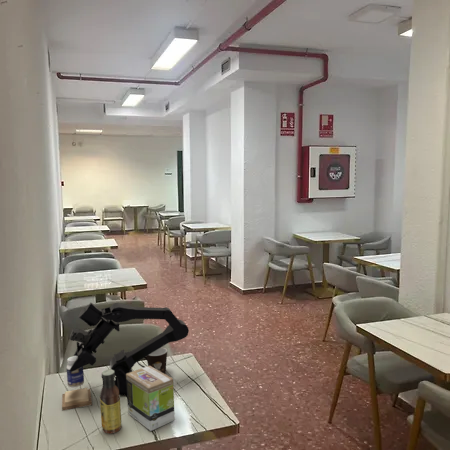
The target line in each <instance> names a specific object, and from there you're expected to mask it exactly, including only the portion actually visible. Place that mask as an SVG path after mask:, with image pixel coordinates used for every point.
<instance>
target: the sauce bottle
mask: <svg viewBox="0 0 450 450" xmlns="http://www.w3.org/2000/svg"><path fill="white" fill-rule="evenodd" d="M115 377H116V376H115V371H114V370H111V368H109V369H105V370H103V371H102V372H101V378H102V385H101V386H102V387H101V391H100V393H99V407H100V421H101V428H102V431H103V433H105V434H109V435H110V434H116V433H118V432H119V431H120V430H121V428H122V409H121V397H120V395H119V389H118V388H117V386H116V385H115Z"/></svg>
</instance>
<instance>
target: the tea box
mask: <svg viewBox="0 0 450 450" xmlns="http://www.w3.org/2000/svg"><path fill="white" fill-rule="evenodd" d="M132 371H133V370H132ZM126 383H127V396H126V398H127V400H126V401H127V413H128V414H129V415H130V416H131V417H132V418H133V419H135V420H136V421H137V422H138V423H140V424H141V425H142V426H144V427H145V428H146V429H147V430H148V431H150V432H152V431H154V430H157V429H159V428H160V427H163V426H165V425H167V424H169V423H171V422H172V423H173V421H175V420H176V416H175V414H176V413H175V396H174V395H175V394H174V393H175V392H174V379H173V377H170V376H169V375H168V374H164V373H162V372H160V371H159V370H157V369H155V368H153V367H151V366H148V365H147V366H145V367H144V368H143V367H141V368H140V369H136V370H134V371H133V372H130V373H127V374H126Z"/></svg>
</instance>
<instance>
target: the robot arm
mask: <svg viewBox="0 0 450 450" xmlns="http://www.w3.org/2000/svg"><path fill="white" fill-rule="evenodd" d="M77 318H78V319H79V320H80V321H82V322H84V324H86V325H87V326H89V327H94V328H93V329H92V328H91V329H89V330H88V331H86V330H84V329H79V328H76V327H72V329H71V332H70V335H69V340H70V341H72V342H76V349H75V350H76V351H74V354H73V356H78V357H77V359H76V360H75V362H74V364H73V365H72V367H71V368H70V371H71V372H73V371H75V370H77V369H79V368H81V367H83V368H84V367H85V366H87V365H90V366H94V364H96V362H97V357H96V353H97V351H98V348H99V347H100V346H101V345H104V343H105V340H106V339H107V337H108V336H110V334H111V333H112V331H114V330H115V331H117V332H120V323H123V322H130V321H131V320H165V321H166V323H168V325H167V326H166V328H165V329H164V330H163V331H162V332H161V333H159V334H158V335H155V336H154V337H152V338H151V339H149V340H148V341H146V342H144V343H142V344H141V345H139V346H138V347H136V348H134V349H132V350H131V351H128V352H127V351H126V352H125V350H124V349H123V350H120V351H119V352H117V353H115V354H113V357H111V358H110V362H109V366H110V369H111V370H114V371H115V377H114V379H115V385H116V386H117V388H118V389H119V396H126V397H127V383H126V374H127V373H130V372H133V367H134V366H135V365H136V363H137V362H139V361H142V360H143V359H145V358H144V357H147V356H148V355H149V354H151V353H153V352H154V351H156V350H158V349H159V348H161V347H164V346H166V345H167V344H169V343H173V342H179V341H181V340H183V339H186V338H187V337H188V335H189V332H190V330H189V329H190V328H189V327H188V325H187V324H186V323H185V322H184V321H183V320H182V319H178V318H177V317H176V315H175V314H174V313H173V312H172V310H171V308H169V307H166V306H165V307H147V306H146V307H144V306H143V307H142V306H132V305H129V304H126V303H121V302H120V303H119V302H114V303H113V304H111V306H108V307H105V308H101V309H100V308H98V307H97V306H96V305H95V304H94V303H93V302H89V304H87V305H86V306H85V307H83V308H82V309H81V310H80V312H79V314H78V315H77Z"/></svg>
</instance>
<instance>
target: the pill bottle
mask: <svg viewBox="0 0 450 450" xmlns="http://www.w3.org/2000/svg"><path fill="white" fill-rule="evenodd" d="M77 357H78V356H74V355H73V356H70V357H68V358H67V360H66V361H67V365H66V378H67V380H66V381H67V386H68V387H69V388H72V389H73V388H75V389H76V388H78V387H81V386H83V385H84V384H85V375H84V374H85V373H84V366H83V367H81V368H79V369H77V370H75V371H73V372H71V371H70V368H71V367H72V365H73V364H74V362H75V360H76V359H77Z"/></svg>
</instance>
